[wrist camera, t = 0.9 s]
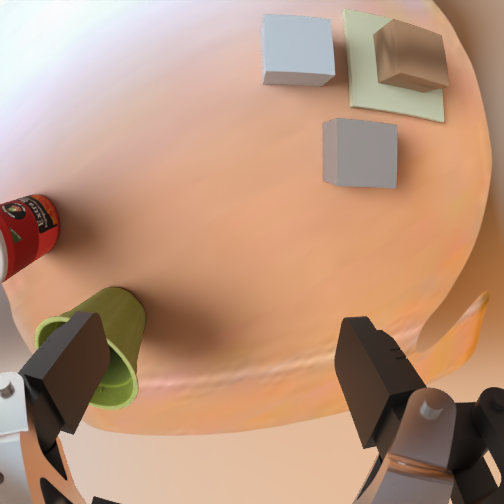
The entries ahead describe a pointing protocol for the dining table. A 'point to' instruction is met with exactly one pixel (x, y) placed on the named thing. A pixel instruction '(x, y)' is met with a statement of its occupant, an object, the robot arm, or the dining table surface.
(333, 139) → the grey block
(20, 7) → the dining table surface
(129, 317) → the plant pot
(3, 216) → the canned food
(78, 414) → the robot arm
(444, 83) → the walnut block
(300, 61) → the blue block
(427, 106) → the plate
